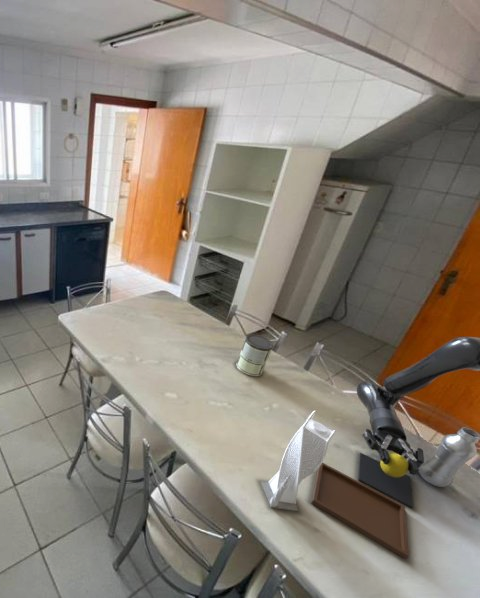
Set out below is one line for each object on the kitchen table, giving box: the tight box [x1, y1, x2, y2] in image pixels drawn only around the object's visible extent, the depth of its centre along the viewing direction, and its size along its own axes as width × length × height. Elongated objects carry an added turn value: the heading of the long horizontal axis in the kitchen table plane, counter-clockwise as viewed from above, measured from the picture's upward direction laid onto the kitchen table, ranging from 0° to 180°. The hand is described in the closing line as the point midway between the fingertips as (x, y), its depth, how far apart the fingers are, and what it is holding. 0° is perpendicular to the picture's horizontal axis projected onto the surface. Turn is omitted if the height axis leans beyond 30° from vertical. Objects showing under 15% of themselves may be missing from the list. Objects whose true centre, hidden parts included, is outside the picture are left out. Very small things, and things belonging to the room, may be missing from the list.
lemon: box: [379, 452, 409, 477], centre depth 94 cm, size 6×6×8 cm
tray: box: [311, 462, 410, 560], centre depth 88 cm, size 20×16×2 cm
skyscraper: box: [260, 410, 337, 512], centre depth 84 cm, size 8×8×28 cm
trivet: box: [357, 452, 414, 509], centre depth 97 cm, size 12×12×1 cm
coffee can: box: [235, 333, 274, 377], centre depth 136 cm, size 10×10×14 cm
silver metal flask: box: [418, 426, 480, 488], centre depth 93 cm, size 6×7×20 cm
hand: (400, 467), depth 91 cm, fingers closed on lemon, 5 cm apart
